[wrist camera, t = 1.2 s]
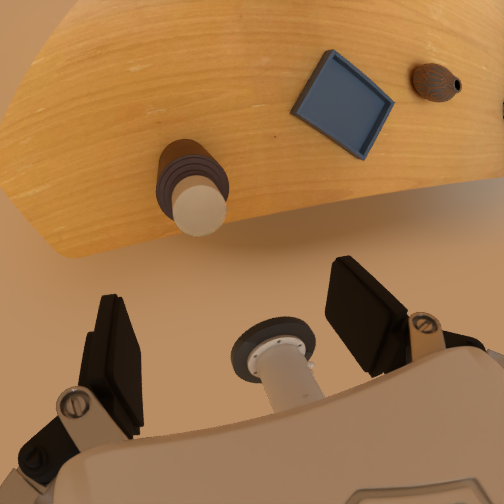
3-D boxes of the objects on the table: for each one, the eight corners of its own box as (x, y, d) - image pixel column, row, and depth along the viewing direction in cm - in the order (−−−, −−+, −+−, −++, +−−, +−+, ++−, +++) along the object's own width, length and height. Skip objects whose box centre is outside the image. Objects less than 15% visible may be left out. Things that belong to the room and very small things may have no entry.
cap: (227, 186, 23) (236, 198, 21) (207, 227, 24) (213, 243, 22) (183, 167, 22) (186, 177, 19) (164, 210, 23) (164, 226, 20)
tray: (386, 101, 39) (395, 102, 37) (356, 158, 42) (364, 160, 40) (326, 50, 33) (333, 49, 31) (289, 112, 36) (295, 113, 35)
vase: (425, 107, 41) (462, 114, 33) (402, 85, 38) (441, 89, 30) (435, 78, 38) (472, 82, 31) (413, 55, 36) (451, 55, 28)
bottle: (217, 151, 36) (258, 187, 21) (195, 194, 38) (219, 261, 23) (172, 131, 33) (177, 150, 18) (151, 177, 35) (141, 233, 20)
